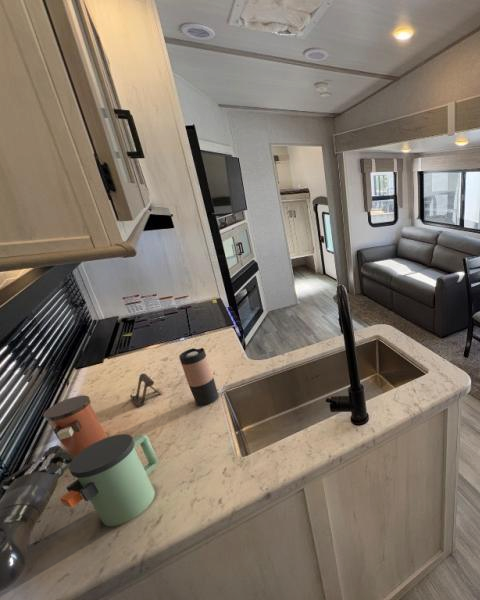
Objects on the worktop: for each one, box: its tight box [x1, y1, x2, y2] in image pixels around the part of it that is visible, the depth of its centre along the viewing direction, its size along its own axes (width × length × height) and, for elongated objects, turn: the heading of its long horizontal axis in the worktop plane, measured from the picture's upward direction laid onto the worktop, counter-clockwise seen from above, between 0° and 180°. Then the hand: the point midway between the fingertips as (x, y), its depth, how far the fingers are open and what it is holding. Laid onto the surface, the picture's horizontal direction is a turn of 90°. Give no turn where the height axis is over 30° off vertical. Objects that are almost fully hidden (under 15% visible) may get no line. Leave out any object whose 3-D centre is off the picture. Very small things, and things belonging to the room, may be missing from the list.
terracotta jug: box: [42, 395, 108, 457], centre depth 93 cm, size 14×10×15 cm
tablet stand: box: [129, 373, 162, 408], centre depth 115 cm, size 9×8×8 cm
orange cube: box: [59, 490, 84, 508], centre depth 64 cm, size 2×2×2 cm
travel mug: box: [178, 347, 219, 407], centre depth 110 cm, size 8×8×20 cm
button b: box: [56, 427, 74, 440], centre depth 86 cm, size 2×2×2 cm
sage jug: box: [65, 433, 159, 527], centre depth 73 cm, size 16×11×17 cm
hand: (55, 449), depth 80 cm, fingers closed
